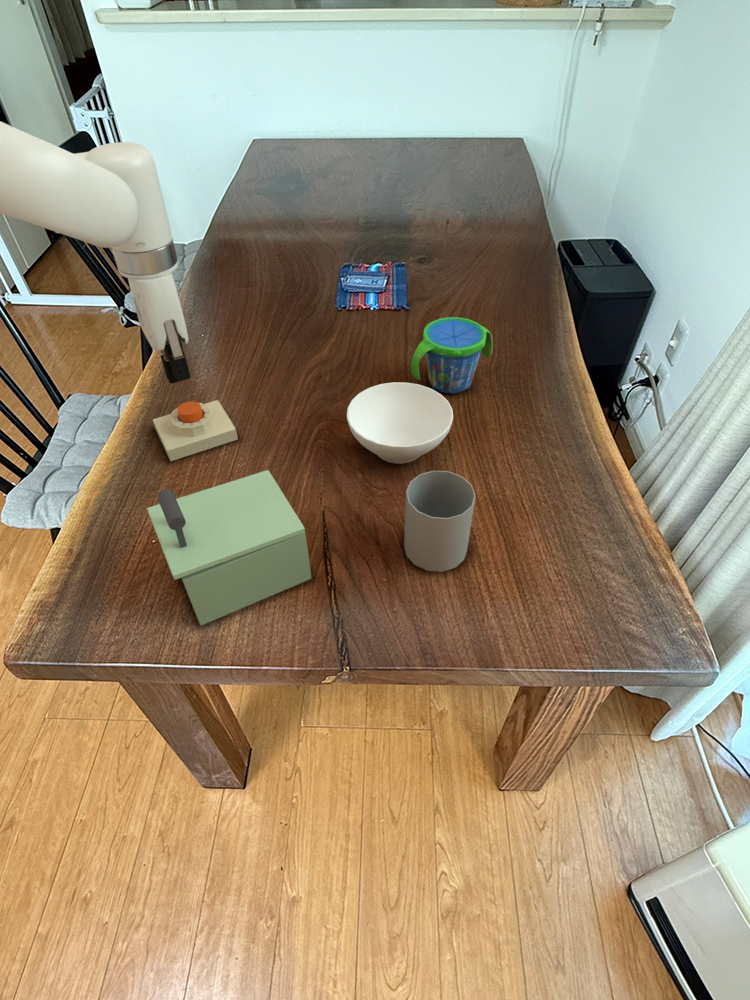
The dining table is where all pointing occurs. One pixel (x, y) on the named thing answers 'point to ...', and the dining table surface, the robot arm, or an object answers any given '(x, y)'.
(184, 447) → the panel
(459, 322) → the snack cup
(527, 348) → the dining table surface
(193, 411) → the button
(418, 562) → the cup
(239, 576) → the green hinged box
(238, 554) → the lid
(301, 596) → the dining table surface
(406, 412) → the bowl
